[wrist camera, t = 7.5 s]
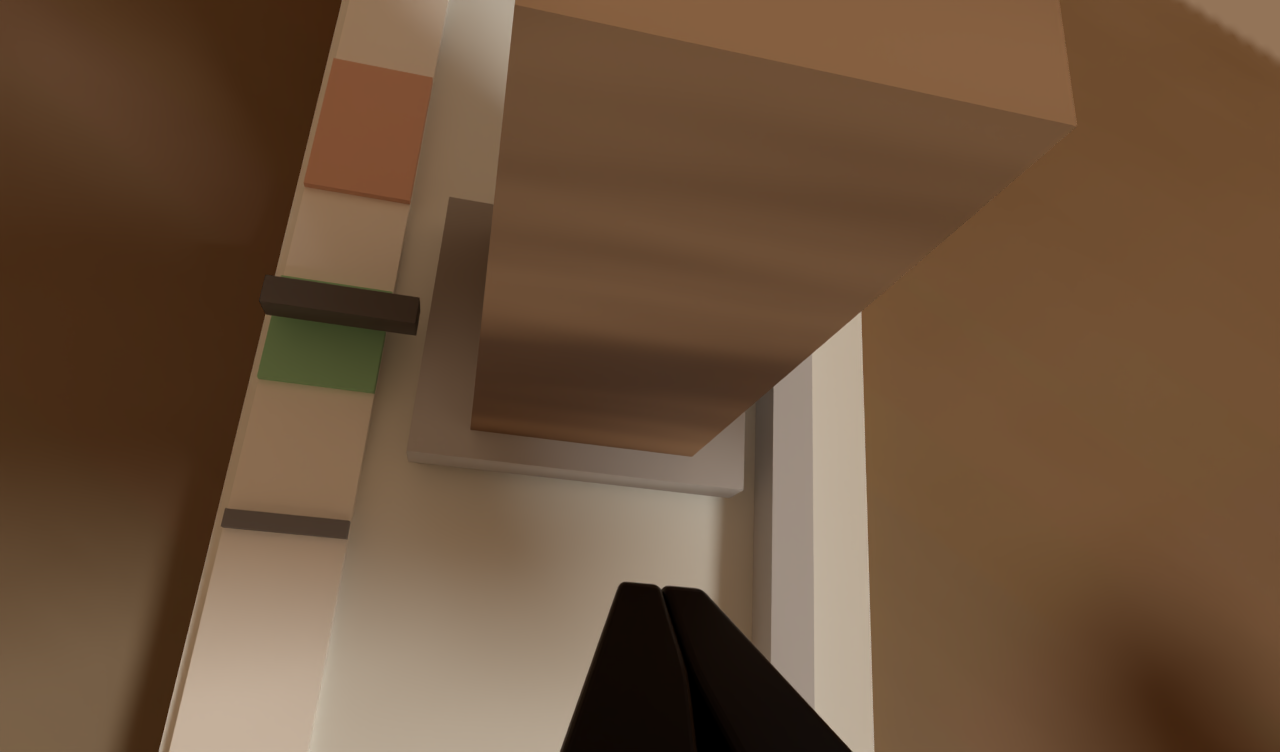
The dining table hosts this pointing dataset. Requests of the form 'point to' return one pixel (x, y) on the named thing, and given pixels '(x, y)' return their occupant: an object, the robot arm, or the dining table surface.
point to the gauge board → (476, 475)
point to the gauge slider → (699, 218)
